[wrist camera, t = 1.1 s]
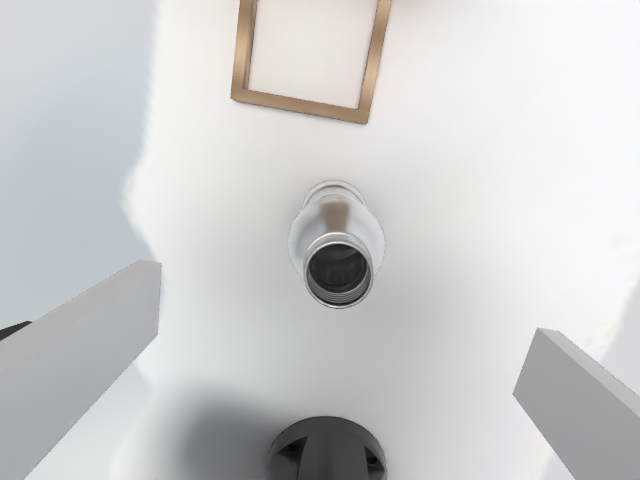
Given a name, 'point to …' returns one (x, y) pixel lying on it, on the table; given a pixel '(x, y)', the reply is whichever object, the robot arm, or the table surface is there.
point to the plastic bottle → (336, 245)
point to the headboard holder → (298, 105)
